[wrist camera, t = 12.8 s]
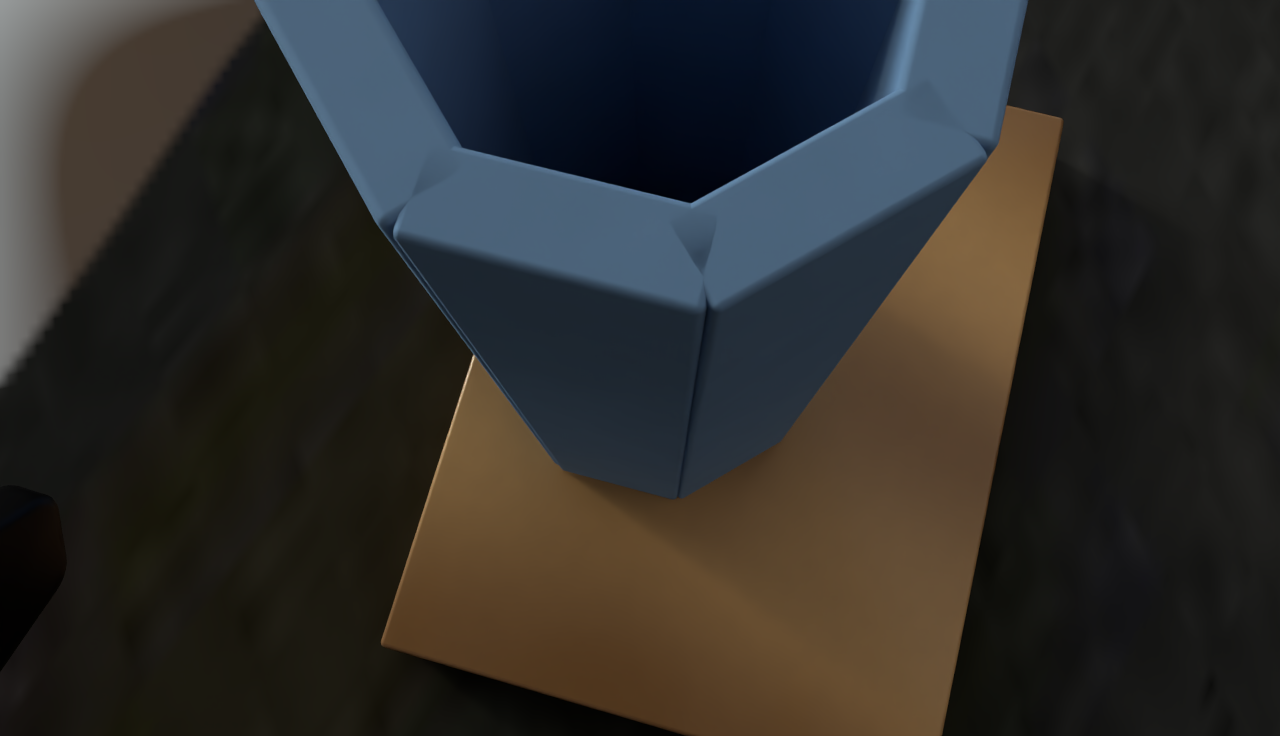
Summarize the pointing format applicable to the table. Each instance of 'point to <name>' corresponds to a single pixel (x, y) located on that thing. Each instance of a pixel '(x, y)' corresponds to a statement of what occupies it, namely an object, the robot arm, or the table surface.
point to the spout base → (758, 520)
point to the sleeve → (657, 193)
